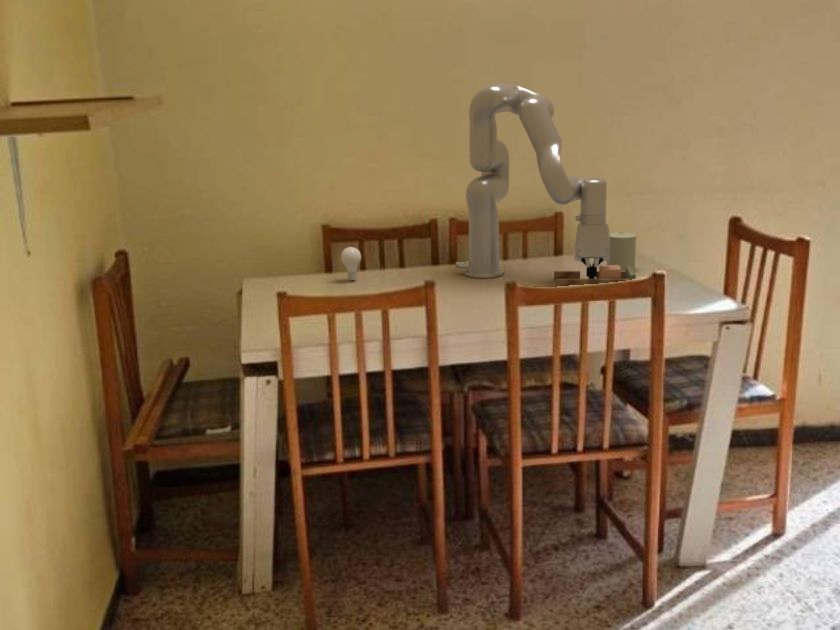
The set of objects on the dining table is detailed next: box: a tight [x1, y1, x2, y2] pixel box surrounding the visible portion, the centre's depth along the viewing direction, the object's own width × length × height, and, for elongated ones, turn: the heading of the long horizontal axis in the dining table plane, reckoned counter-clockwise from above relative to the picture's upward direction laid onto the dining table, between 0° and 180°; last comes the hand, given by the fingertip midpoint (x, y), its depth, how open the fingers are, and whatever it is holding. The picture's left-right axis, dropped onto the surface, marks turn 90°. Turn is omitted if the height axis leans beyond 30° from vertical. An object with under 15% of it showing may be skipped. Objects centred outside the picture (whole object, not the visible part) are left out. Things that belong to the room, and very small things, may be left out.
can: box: [606, 231, 637, 272], centre depth 288 cm, size 9×9×12 cm
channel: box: [553, 266, 637, 288], centre depth 273 cm, size 24×12×4 cm, turn 84°
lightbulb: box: [340, 246, 362, 282], centre depth 284 cm, size 6×6×11 cm
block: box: [598, 264, 621, 279], centre depth 272 cm, size 6×6×5 cm
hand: (591, 278), depth 273 cm, fingers closed
